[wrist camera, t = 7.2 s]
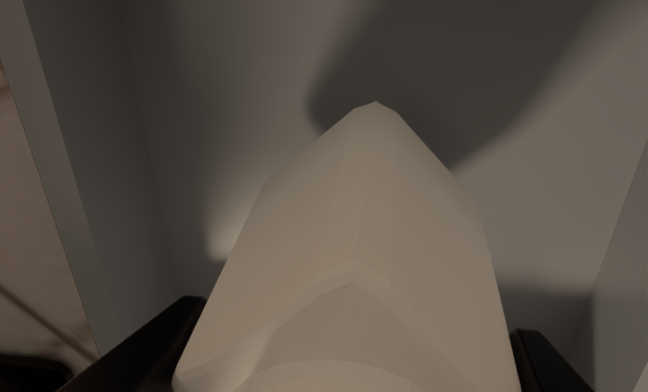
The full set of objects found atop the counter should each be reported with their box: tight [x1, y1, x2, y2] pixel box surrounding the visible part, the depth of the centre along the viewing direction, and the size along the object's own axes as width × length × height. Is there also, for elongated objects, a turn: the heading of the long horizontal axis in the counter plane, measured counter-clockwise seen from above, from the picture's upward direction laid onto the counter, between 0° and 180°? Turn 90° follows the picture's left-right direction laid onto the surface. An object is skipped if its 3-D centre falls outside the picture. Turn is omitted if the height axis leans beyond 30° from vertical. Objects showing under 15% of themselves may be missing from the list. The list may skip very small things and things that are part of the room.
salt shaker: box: [171, 101, 522, 392], centre depth 8 cm, size 4×4×10 cm
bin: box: [0, 0, 648, 392], centre depth 12 cm, size 14×14×4 cm
